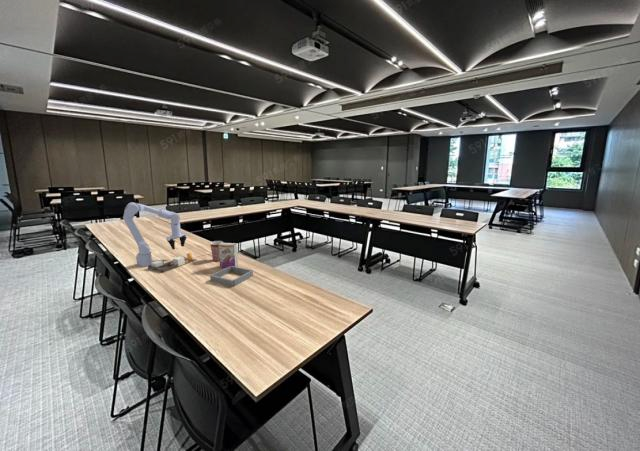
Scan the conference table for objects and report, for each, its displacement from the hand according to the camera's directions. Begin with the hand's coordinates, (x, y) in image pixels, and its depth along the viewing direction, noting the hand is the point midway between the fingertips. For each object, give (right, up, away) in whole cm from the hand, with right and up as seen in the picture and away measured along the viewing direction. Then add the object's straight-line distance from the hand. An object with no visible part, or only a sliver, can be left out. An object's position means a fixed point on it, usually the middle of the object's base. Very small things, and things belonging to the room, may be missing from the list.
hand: (178, 247), depth 197 cm
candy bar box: (+41, -12, -10) cm, 43 cm away
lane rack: (+2, -12, -9) cm, 15 cm away
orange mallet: (+7, -10, -6) cm, 14 cm away
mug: (+29, -9, +4) cm, 31 cm away
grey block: (-5, -12, -16) cm, 21 cm away
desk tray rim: (+49, -17, -29) cm, 59 cm away
